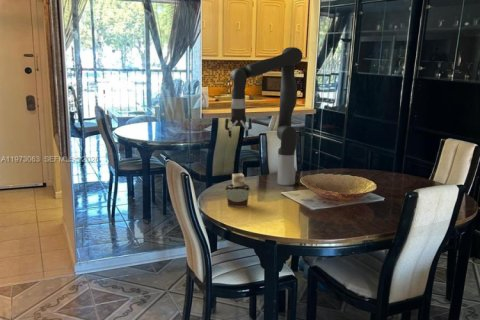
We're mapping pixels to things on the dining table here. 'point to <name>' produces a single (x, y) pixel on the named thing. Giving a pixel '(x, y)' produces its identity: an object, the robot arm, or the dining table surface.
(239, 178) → the beige cube
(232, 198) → the food container
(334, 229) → the dining table surface
